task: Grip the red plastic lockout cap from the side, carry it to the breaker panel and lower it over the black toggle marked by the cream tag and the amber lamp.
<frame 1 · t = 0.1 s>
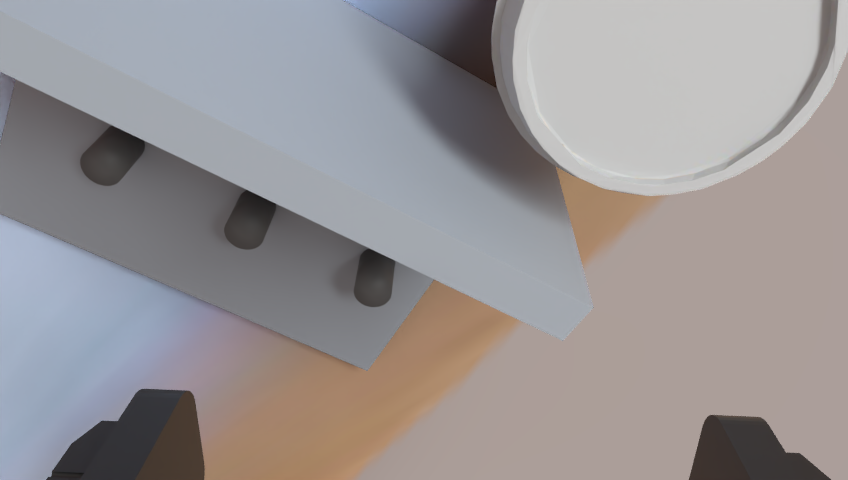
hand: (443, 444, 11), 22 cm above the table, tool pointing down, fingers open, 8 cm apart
breaker panel: (245, 180, 34), on the table
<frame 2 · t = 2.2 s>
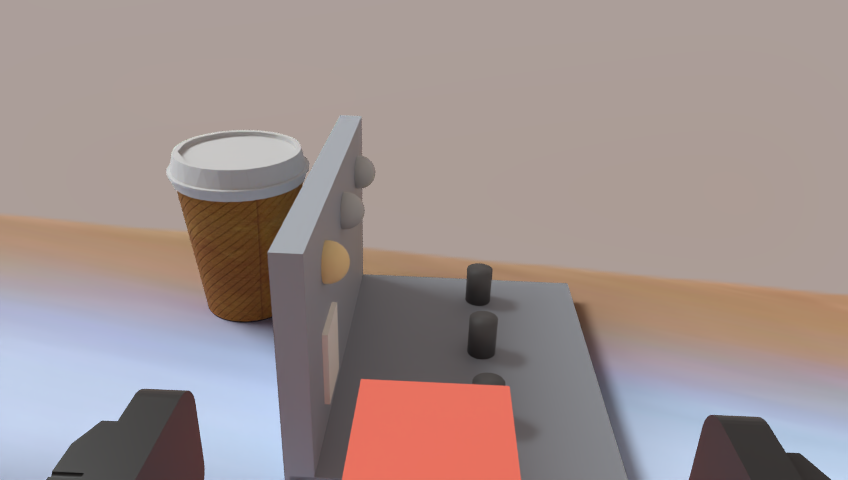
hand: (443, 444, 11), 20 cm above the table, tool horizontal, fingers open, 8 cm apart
breaker panel: (480, 379, 44), on the table
disposable coffee cup: (251, 302, 52), on the table
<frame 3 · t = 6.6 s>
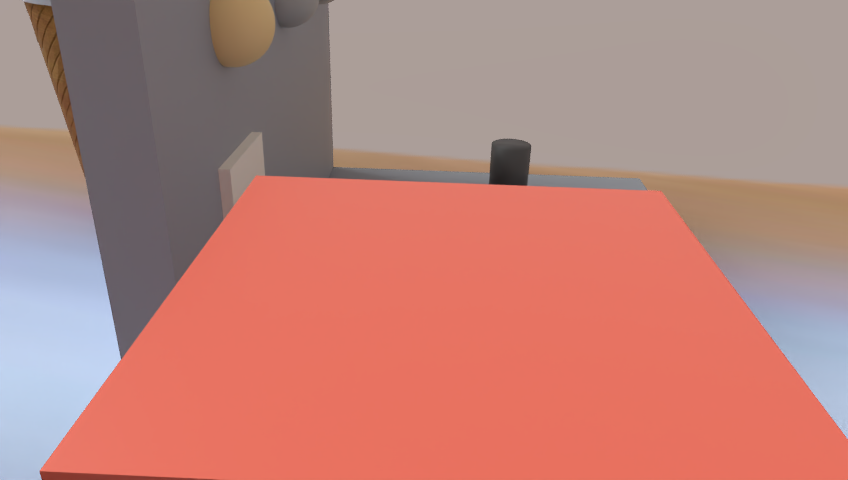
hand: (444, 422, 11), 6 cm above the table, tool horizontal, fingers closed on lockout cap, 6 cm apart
breaker panel: (518, 303, 27), on the table
disposable coffee cup: (165, 206, 35), on the table
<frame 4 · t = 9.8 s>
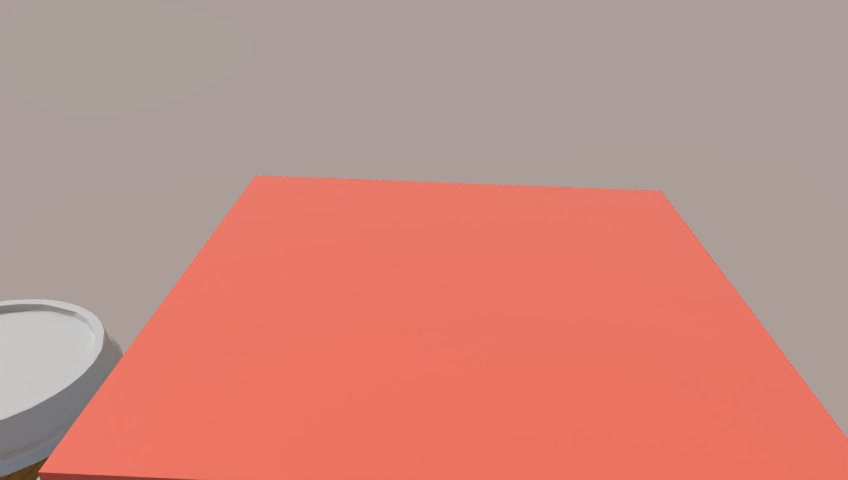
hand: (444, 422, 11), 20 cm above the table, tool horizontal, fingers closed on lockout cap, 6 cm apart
when the fingers open (8 cm above the table, at t = 13.1 s): lockout cap stays where it is, resting on breaker panel.
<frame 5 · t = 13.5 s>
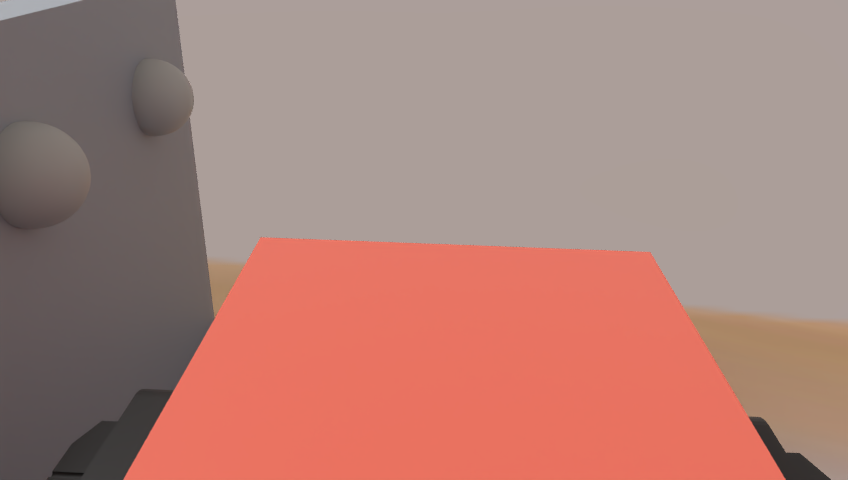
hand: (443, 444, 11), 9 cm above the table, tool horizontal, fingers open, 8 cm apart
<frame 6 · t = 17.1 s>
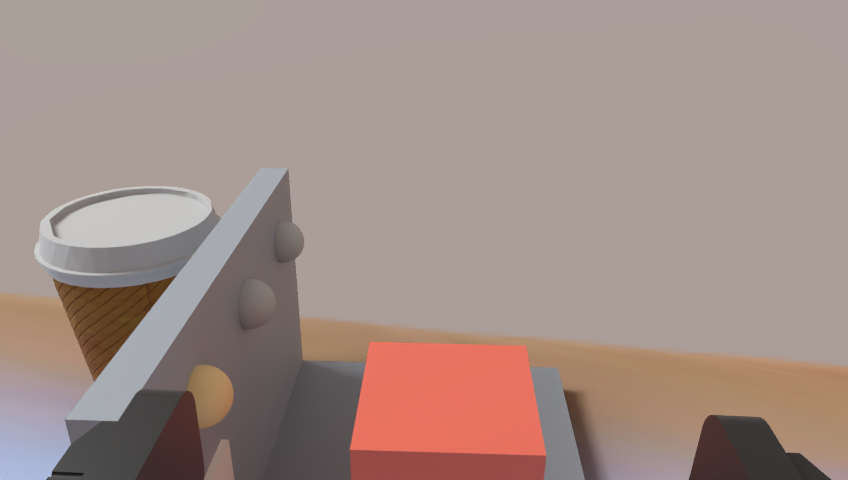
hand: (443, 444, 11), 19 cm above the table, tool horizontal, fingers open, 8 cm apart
disposable coffee cup: (162, 399, 42), on the table
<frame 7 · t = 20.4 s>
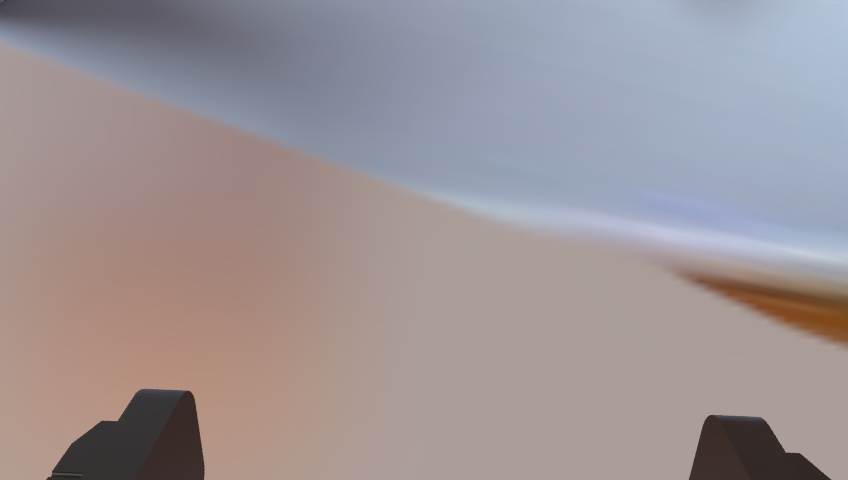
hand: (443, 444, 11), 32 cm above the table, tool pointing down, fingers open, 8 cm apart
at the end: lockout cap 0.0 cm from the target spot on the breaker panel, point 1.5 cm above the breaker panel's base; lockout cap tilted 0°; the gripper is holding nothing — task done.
